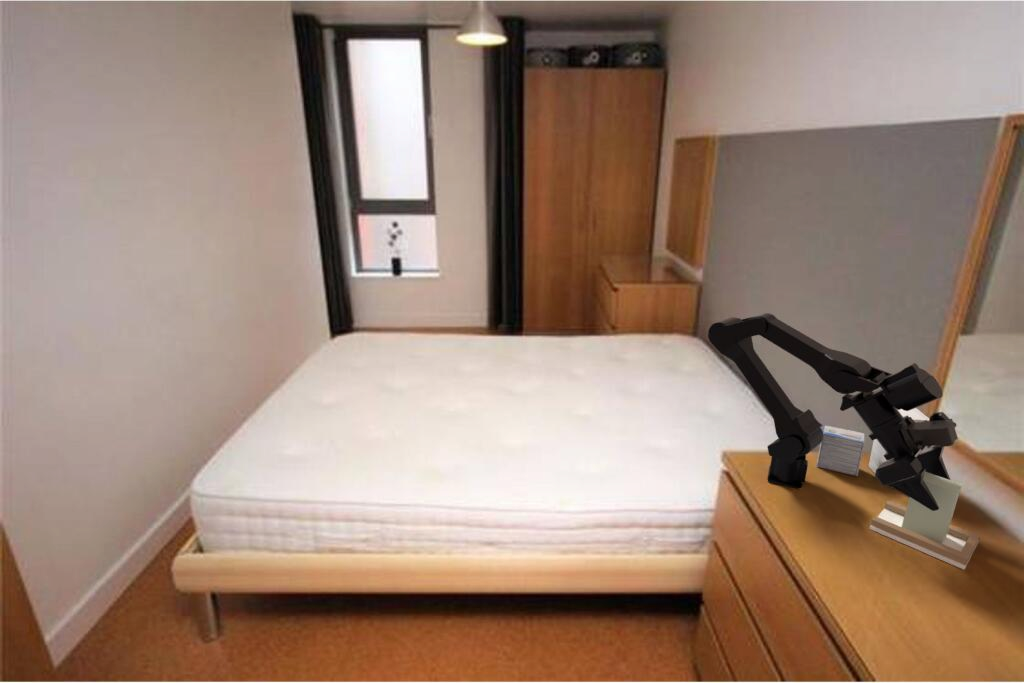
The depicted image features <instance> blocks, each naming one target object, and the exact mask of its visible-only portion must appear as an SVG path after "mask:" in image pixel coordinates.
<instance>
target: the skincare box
mask: <svg viewBox="0 0 1024 683" xmlns="http://www.w3.org/2000/svg"><path fill="white" fill-rule="evenodd" d="M897 410H898V409H897ZM898 411H899V412H900V414H901V415H902V416H903V417H905V416H907V415H908V417H911V418H912V419H913V420H914V422H915V423H916V422H923V421H924V420H927V421H929V419H930V417H928V416H926V415H925V414H924V413H923V412H922V411H921V410H919V409H918V407H917V408H914V409H912V410H909V411H904V410H902V409H900V410H898ZM872 441H873V443H872V447H871V452H870V458H869V463H868V467H869V468H870V470H871V471H872V472H873V473H874V474H875V473H876V469H877V468H878V467H879V466H880V465H881V464H882V463H883V462H886V461H889V460H886V459H885V457H884V456H883V455H884V454H885V453H886V451H885V450H884V448H883V447H882V446H881V444H880V443H879V442H878V440H877V439H875V440H872ZM893 459H894V458H893ZM890 460H891V459H890ZM885 486H887V485H885ZM887 487H888V486H887Z"/></svg>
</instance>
